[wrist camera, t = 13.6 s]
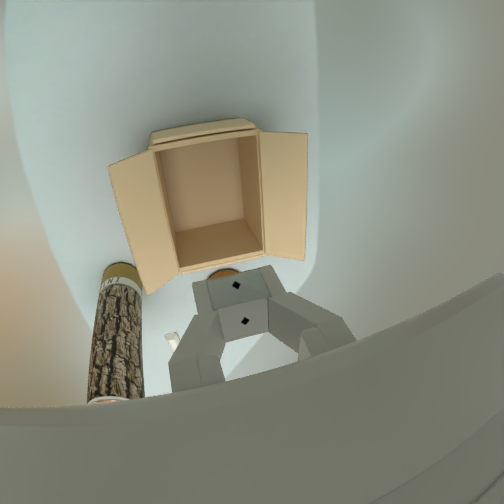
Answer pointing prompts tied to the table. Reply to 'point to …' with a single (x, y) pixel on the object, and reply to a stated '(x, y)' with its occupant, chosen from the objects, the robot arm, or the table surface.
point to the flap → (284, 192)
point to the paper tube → (117, 339)
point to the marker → (172, 340)
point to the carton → (211, 192)
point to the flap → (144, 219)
